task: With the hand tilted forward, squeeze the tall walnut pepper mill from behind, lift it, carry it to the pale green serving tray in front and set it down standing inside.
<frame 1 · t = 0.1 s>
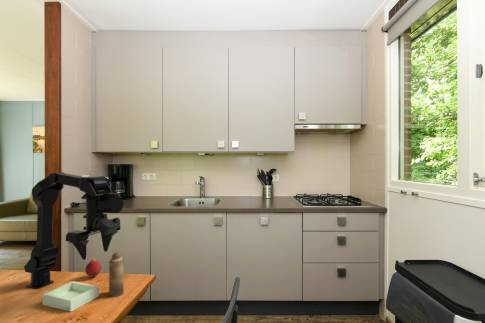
hand: (95, 255, 99), 15 cm above the table, tool pointing down, fingers open, 9 cm apart
pomegranate: (93, 278, 115), on the table
pepper mill: (116, 293, 101), on the table
serving tray: (71, 300, 96), on the table
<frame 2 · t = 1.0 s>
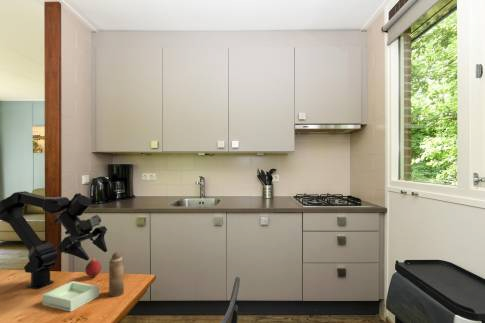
hand: (97, 255, 103), 13 cm above the table, tool tilted 45°, fingers open, 9 cm apart
nothing on the table moved.
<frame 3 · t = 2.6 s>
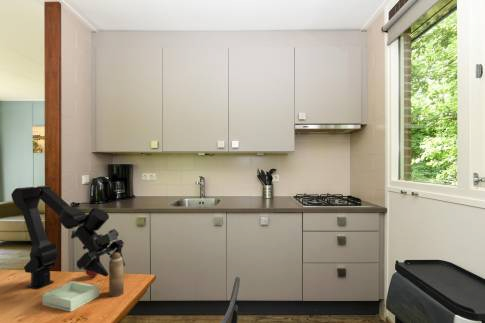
hand: (116, 270, 101), 8 cm above the table, tool tilted 45°, fingers open, 9 cm apart
nothing on the table moved.
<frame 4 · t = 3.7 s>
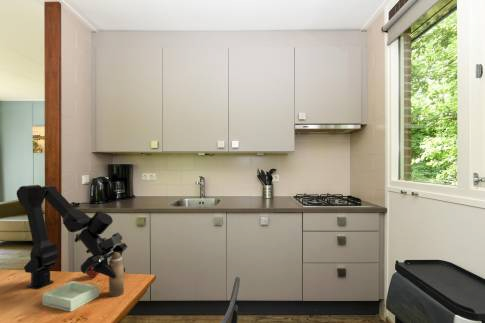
hand: (119, 274, 101), 7 cm above the table, tool tilted 45°, fingers closed on pepper mill, 5 cm apart
pepper mill: (116, 293, 101), on the table, touching gripper
everything else where it was.
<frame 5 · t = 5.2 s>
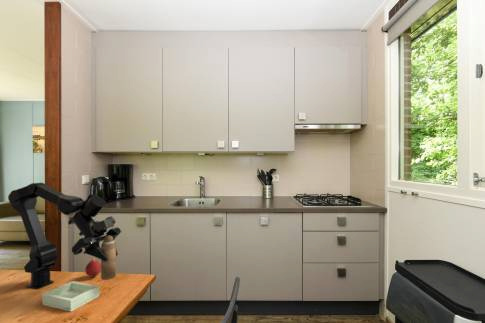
hand: (111, 257, 100), 13 cm above the table, tool tilted 45°, fingers closed on pepper mill, 5 cm apart
pepper mill: (108, 277, 101), point 6 cm above the table, touching gripper
everything else where it was.
when the fingers open (9 cm above the table, at t = 7.0 s): pepper mill drops 1 cm, resting on serving tray.
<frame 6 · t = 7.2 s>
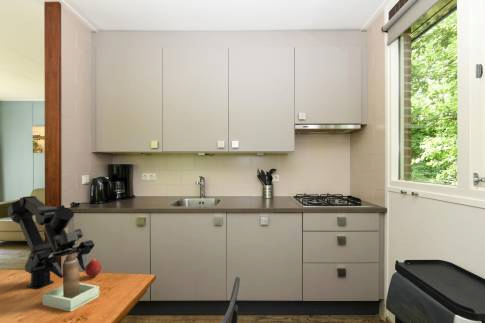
hand: (73, 273, 96), 10 cm above the table, tool tilted 45°, fingers open, 7 cm apart
pepper mill: (71, 297, 96), point 1 cm above the table, touching serving tray
everything else where it was.
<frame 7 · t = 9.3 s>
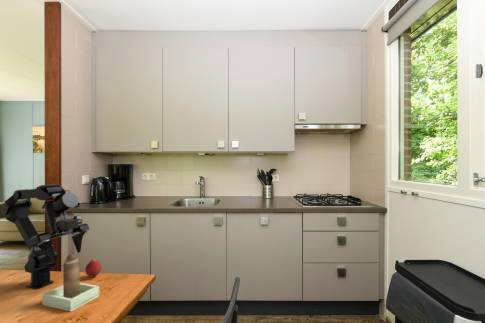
hand: (67, 256, 102), 13 cm above the table, tool tilted 25°, fingers open, 9 cm apart
nothing on the table moved.
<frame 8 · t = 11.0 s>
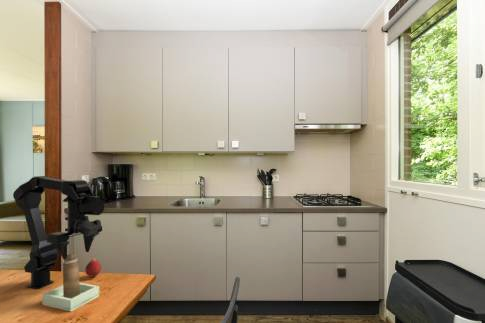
hand: (76, 255, 104), 13 cm above the table, tool pointing down, fingers open, 9 cm apart
nothing on the table moved.
at the end: pepper mill inside the target area on the serving tray (0.1 cm from its centre), point 1.0 cm above the serving tray's base; pepper mill tilted 1°; the gripper is holding nothing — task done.
